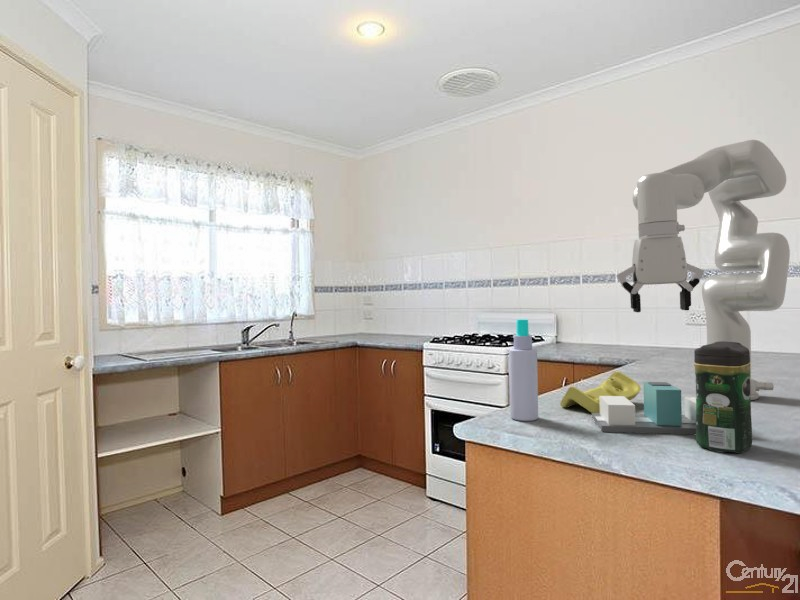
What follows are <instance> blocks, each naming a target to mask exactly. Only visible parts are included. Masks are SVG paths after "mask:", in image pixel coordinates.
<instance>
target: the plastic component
mask: <svg viewBox="0 0 800 600" xmlns="http://www.w3.org/2000/svg"><path fill="white" fill-rule="evenodd" d="M641 389H642V387H641V385H640V384H639V383H638V382H637V381H636V380H634V379H633V378H631V377H630V376H628V375H626V374H625V373H623V372H621V371H615V372H613V373H612V374H611V375H610V376H609V377H608V378H607V379H605V380H603V381H602V383H601V384H599V386H596V387H594V388H591V389H588V390H586V391H582V390H580V389H579V388H577V387H576V386H569V388H568V389H567V391H566V393H565V394H564V395H563V397H562V400H560V406H561V407H563V408H564V407H567V408H569V407H568V406H571V407H573V406H576V405H579V406H581V407H583V408H584V409H586V410H587V411H588V412H590V413H591V414H592V413H600V401H599V396H624V397H626V398H627V399H628V400H629V401H631V400H633V399H635V398H636V397H637V396H638V394H640V392H641ZM575 404H576V405H575ZM572 405H573V406H572Z"/></svg>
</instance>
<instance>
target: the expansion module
mask: <svg viewBox="0 0 800 600" xmlns="http://www.w3.org/2000/svg"><path fill="white" fill-rule="evenodd" d="M682 410H683V408H682V389H680V388H678V387H677V386H674V385H673V384H671V383H669V382H667V381H643V414H644V415H645V416H647V417H648V418H649V419H650V420H651V421H652V422H654V423H655V424H656V425H667V426H682V415H683V413H682Z"/></svg>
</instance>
